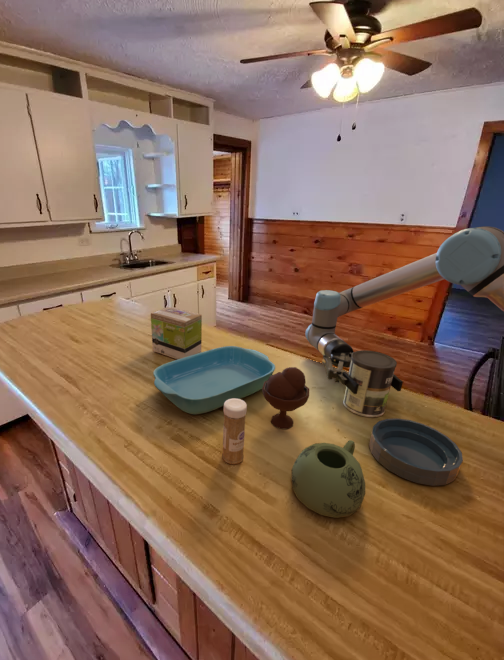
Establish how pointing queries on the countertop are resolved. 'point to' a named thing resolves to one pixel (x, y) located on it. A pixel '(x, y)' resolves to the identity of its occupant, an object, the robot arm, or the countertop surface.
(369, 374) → the coffee can
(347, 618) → the countertop surface
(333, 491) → the green ceramic pot
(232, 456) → the sprinkles bottle
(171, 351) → the tea box
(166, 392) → the casserole dish
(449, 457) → the dark blue round tray
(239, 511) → the countertop surface
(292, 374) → the ice cream bowl
